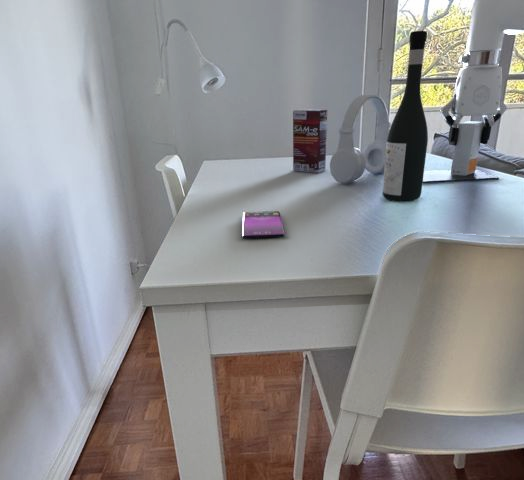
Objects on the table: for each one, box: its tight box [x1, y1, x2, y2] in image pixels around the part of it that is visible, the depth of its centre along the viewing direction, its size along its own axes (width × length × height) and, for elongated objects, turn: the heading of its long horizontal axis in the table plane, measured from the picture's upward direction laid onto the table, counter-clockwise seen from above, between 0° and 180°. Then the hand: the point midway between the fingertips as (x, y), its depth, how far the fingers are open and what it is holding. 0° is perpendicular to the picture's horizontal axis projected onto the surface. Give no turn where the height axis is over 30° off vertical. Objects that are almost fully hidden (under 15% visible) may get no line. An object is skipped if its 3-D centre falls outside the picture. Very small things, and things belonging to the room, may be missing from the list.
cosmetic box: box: [450, 120, 484, 176], centre depth 118 cm, size 6×4×12 cm
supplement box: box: [292, 108, 328, 174], centre depth 133 cm, size 9×5×16 cm, turn 55°
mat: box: [422, 168, 500, 185], centre depth 121 cm, size 22×14×1 cm, turn 93°
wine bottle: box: [382, 30, 429, 203], centre depth 94 cm, size 8×8×30 cm
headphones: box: [329, 94, 392, 185], centre depth 119 cm, size 20×8×19 cm, turn 138°
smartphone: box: [241, 210, 285, 239], centre depth 85 cm, size 7×15×1 cm, turn 1°
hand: (467, 143), depth 117 cm, fingers closed on cosmetic box, 7 cm apart
